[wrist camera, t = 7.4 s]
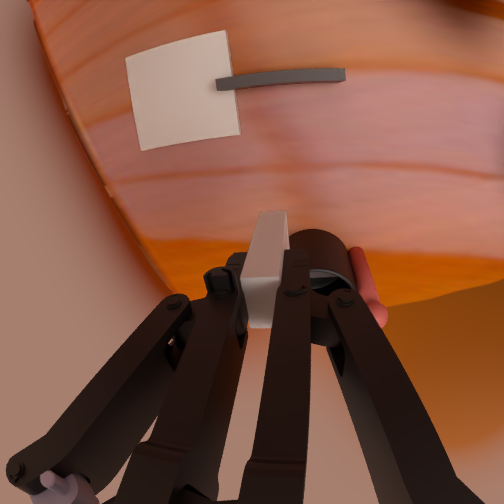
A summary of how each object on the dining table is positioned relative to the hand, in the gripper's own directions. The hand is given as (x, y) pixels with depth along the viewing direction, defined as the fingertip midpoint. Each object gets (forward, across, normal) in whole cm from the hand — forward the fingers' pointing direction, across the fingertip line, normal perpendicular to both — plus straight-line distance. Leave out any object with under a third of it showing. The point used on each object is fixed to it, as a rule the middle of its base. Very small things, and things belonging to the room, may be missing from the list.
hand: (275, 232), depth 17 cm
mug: (+17, +2, -14) cm, 22 cm away
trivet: (+16, -10, +10) cm, 22 cm away
